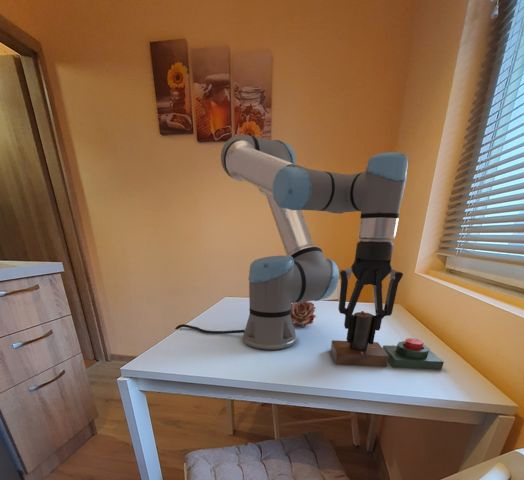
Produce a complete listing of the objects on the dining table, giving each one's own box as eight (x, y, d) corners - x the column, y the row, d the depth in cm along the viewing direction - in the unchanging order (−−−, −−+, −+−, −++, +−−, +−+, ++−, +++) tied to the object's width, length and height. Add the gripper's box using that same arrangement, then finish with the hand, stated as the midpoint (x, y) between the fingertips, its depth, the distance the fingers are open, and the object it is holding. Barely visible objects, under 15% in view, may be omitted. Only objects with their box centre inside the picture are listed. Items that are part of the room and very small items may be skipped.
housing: (393, 367, 66) (396, 352, 64) (381, 352, 74) (384, 338, 73) (441, 370, 65) (446, 354, 64) (424, 354, 73) (428, 340, 72)
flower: (288, 314, 101) (286, 300, 95) (313, 310, 100) (313, 295, 94) (292, 336, 96) (290, 322, 90) (318, 331, 95) (318, 317, 89)
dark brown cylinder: (369, 351, 67) (375, 316, 64) (350, 350, 68) (355, 315, 64) (366, 344, 71) (371, 311, 68) (348, 343, 72) (353, 310, 68)
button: (407, 350, 67) (409, 343, 66) (401, 344, 70) (402, 337, 70) (424, 351, 66) (426, 344, 66) (417, 345, 70) (419, 338, 69)
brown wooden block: (335, 365, 67) (337, 353, 66) (330, 350, 75) (331, 339, 74) (386, 367, 66) (389, 355, 65) (375, 352, 74) (378, 341, 73)
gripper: (412, 240, 62) (392, 338, 71) (332, 239, 64) (322, 334, 74) (425, 241, 55) (401, 349, 64) (335, 240, 58) (324, 344, 67)
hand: (359, 341), depth 69 cm, fingers closed on dark brown cylinder, 4 cm apart
